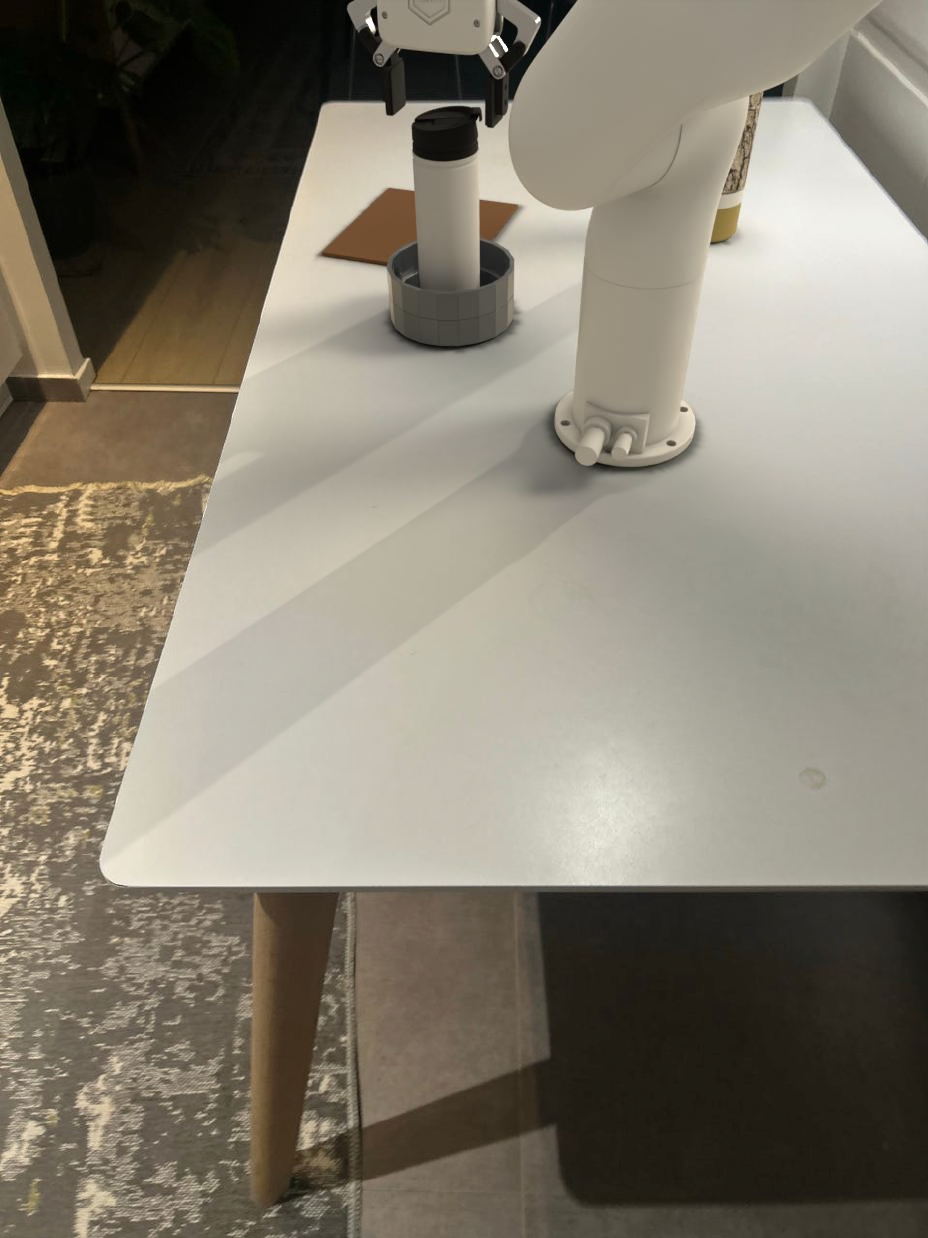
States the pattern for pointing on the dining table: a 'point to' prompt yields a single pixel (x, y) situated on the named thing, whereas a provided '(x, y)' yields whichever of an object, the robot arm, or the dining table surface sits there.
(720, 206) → the paper tube
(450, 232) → the travel mug
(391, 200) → the cork mat
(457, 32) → the robot arm
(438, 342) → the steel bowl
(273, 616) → the dining table surface
